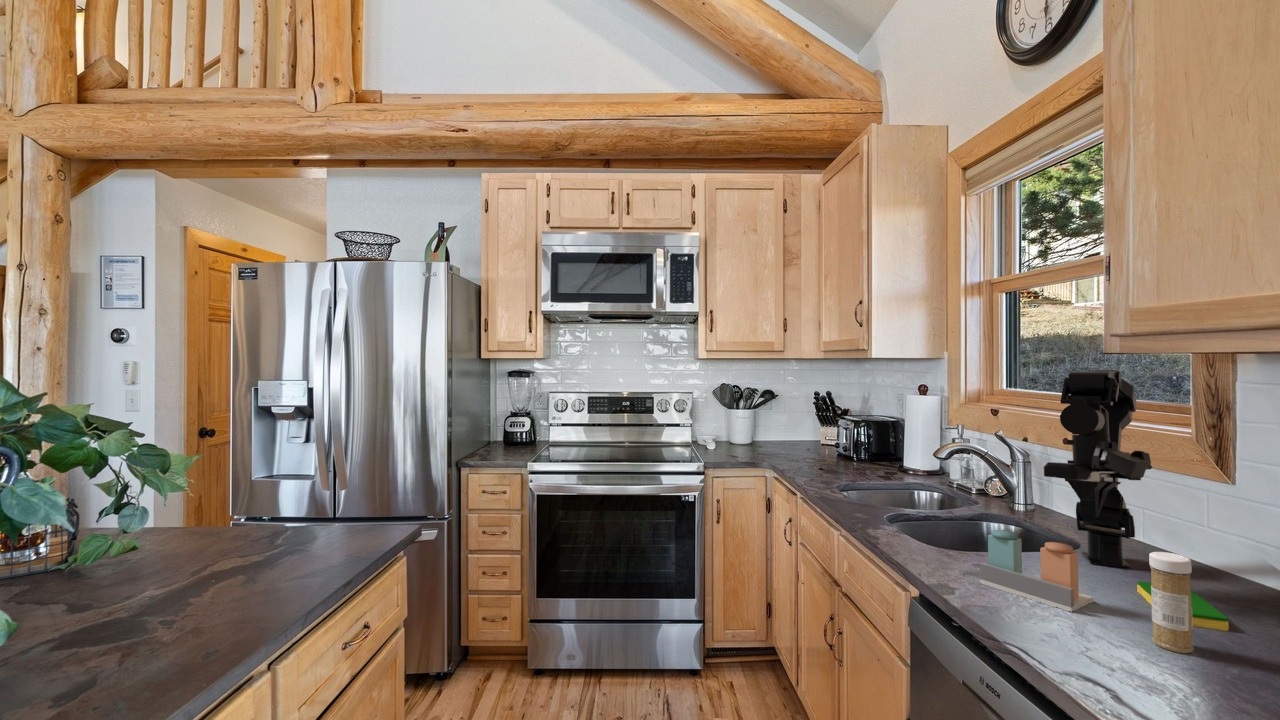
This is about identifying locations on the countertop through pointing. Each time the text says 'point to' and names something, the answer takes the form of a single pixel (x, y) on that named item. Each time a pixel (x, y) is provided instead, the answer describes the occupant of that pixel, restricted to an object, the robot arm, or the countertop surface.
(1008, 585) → the button console
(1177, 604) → the sprinkles bottle
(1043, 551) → the orange domed block
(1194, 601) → the dish sponge
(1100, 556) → the robot arm
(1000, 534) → the button teal
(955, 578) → the countertop surface
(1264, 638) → the countertop surface
